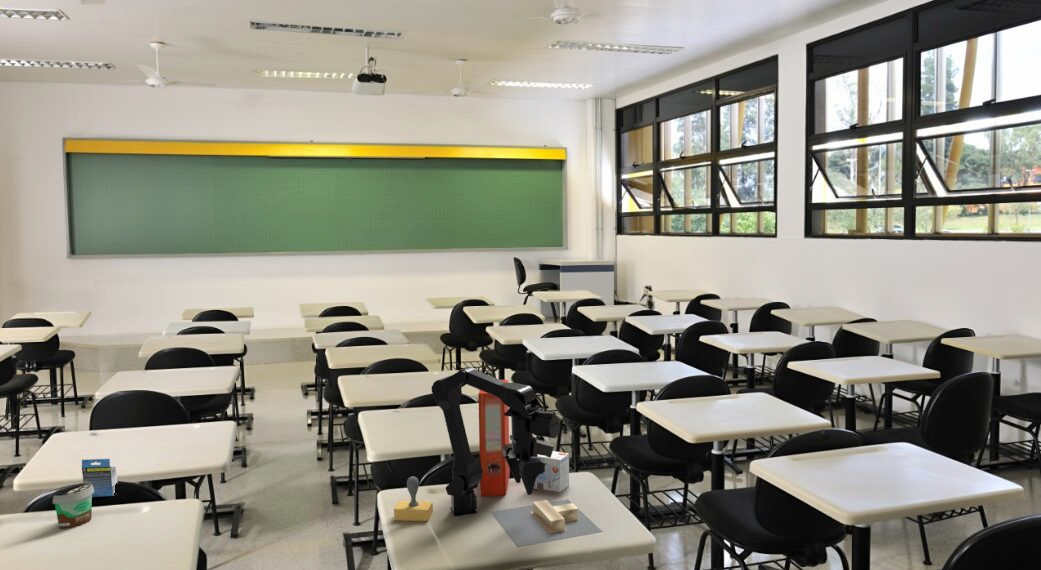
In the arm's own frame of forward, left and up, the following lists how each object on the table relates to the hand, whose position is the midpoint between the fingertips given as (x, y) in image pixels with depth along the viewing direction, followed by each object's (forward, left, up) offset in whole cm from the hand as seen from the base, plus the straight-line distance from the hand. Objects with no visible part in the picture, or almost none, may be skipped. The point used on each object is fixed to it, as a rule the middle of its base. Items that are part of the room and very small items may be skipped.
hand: (523, 488), depth 206 cm
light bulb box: (+17, +24, -11) cm, 31 cm away
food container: (-117, +51, -11) cm, 128 cm away
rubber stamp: (-27, +18, -11) cm, 35 cm away
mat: (+6, 0, -11) cm, 12 cm away
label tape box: (-116, +73, -11) cm, 137 cm away
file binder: (+2, +32, -11) cm, 34 cm away
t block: (+10, 0, -10) cm, 15 cm away
